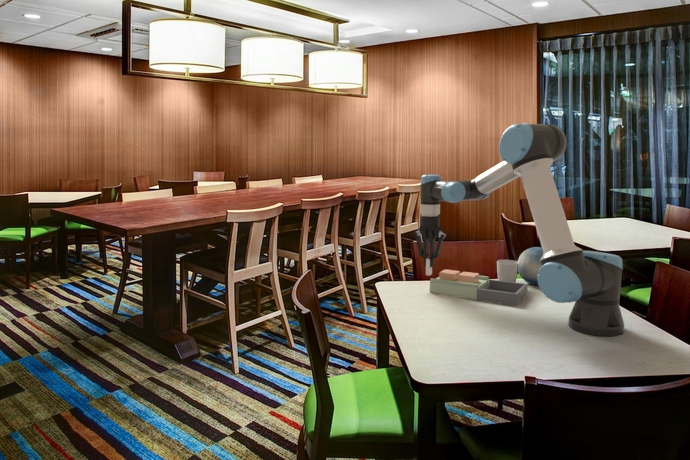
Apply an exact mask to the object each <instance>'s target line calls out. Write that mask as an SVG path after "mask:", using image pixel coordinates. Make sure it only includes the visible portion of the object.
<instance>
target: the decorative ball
mask: <svg viewBox="0 0 690 460" xmlns="http://www.w3.org/2000/svg"><path fill="white" fill-rule="evenodd" d="M543 253H544V252H543V249H542V246H534V247H530V248H527V249H526V250H523V251H522V252H521V253H520V255H519V257H518V259H517V262H519V265H518V275H519V276H520V278H521V279H522V280H524V281H525V282H527V284H530V285H534V286H539V285H538V280H537V276H538V274H539V269H540V268H541V267H542V265H541V261H540V259H541V257H542V256H543Z"/></svg>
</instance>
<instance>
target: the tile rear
mask: <svg viewBox="0 0 690 460" xmlns="http://www.w3.org/2000/svg"><path fill="white" fill-rule="evenodd" d="M460 273H461V271H460V270H456V269H455V270H453V269H443V270H442V271H440V272H439V274H438V275H439V276H438V277H439V279H442V280H450V281H457V280H458V275H459V274H460Z"/></svg>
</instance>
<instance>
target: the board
mask: <svg viewBox="0 0 690 460" xmlns="http://www.w3.org/2000/svg"><path fill="white" fill-rule="evenodd" d="M461 273H462V272H460V274H461ZM489 279H490V276H485V275H480V274H479V281H478V282H477V283H476V284H473V283H465V282H458V280H457V281H450V280H442V279H439V276H438V277H436V278H433V277H431V278H430V279H429V293H431V292H435V293H434V294H438V293H441V294H440V295H444V294H446V296H451V297H459V298H466V299H471V300H472V299H473V300H477V289H478V288H480V289H483V288H484V287H485V286H486V285H488V284H489Z"/></svg>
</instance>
